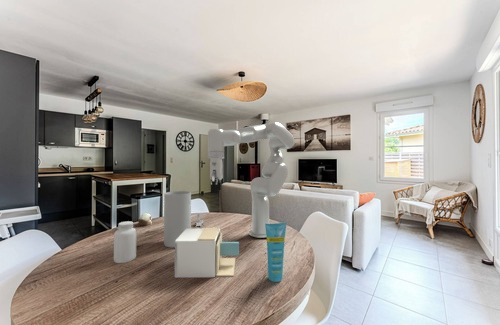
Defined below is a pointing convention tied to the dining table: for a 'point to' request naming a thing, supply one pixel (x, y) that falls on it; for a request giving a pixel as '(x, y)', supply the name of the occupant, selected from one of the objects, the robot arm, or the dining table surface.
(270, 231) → the tube
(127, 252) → the pill bottle
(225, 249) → the door
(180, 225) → the cylinder vase
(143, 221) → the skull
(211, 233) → the carton
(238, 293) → the dining table surface
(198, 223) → the house of cards
